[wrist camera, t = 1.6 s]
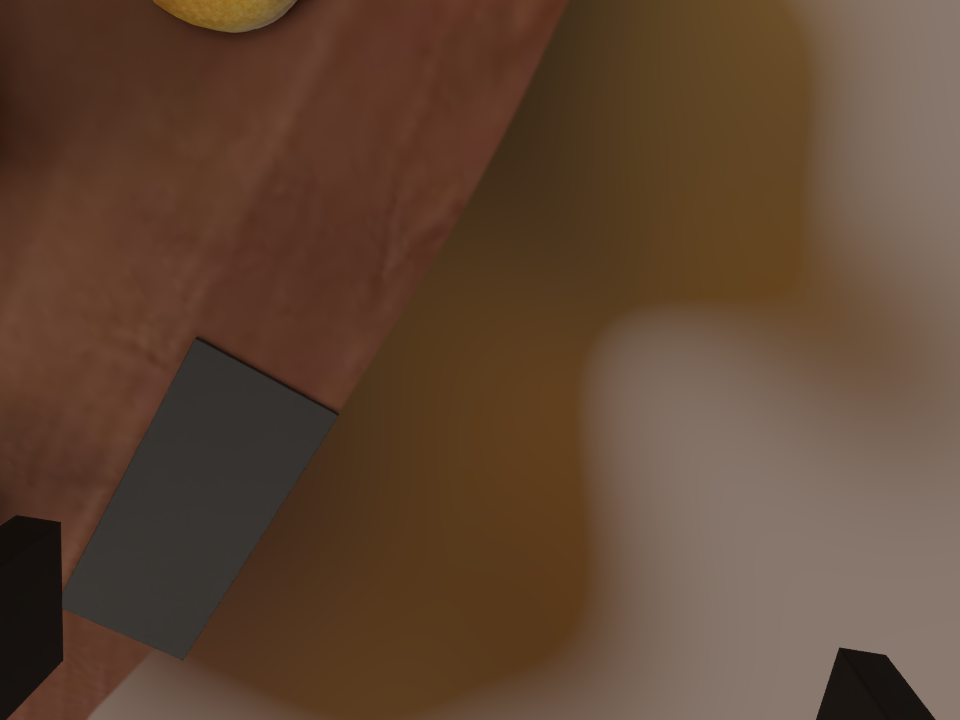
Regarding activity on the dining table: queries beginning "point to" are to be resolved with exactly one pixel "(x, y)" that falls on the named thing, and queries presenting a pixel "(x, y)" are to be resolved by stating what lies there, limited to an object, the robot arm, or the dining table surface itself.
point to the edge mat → (195, 500)
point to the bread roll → (227, 12)
